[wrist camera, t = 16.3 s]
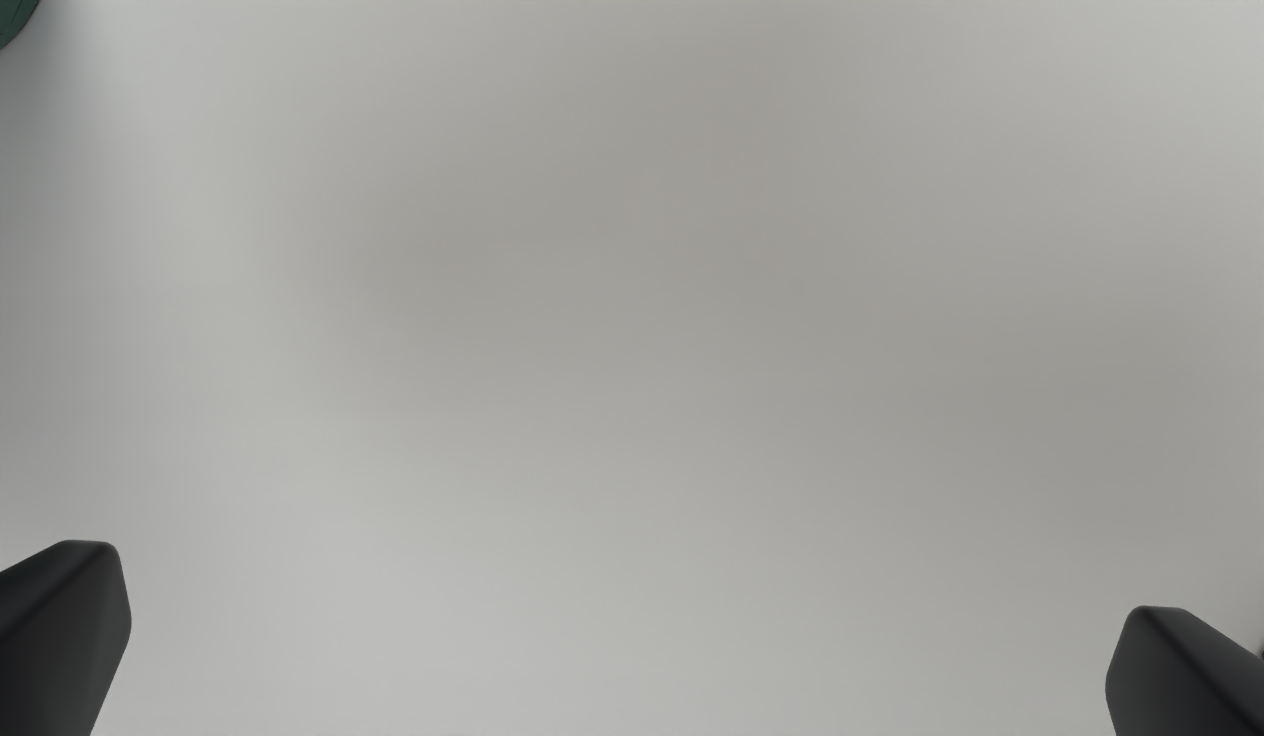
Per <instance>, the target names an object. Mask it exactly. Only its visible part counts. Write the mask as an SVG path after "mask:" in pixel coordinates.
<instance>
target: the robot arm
mask: <svg viewBox="0 0 1264 736" xmlns="http://www.w3.org/2000/svg"><path fill="white" fill-rule="evenodd" d="M130 632H131V611H130V606H129V601H128V596H127V591H126V586H125V581H124V576H123V571H122V566H121V561H120V557H119V554H118V551H117V550H116V548H115V547H114V546H113V545H111V544H110V543H108V542H101V541H85V540H64V541H61V542H58V543H56V544H54V545H52V546H50V547H48V548H46V549H44V550H42V551H40V552H39V553H37V554H35V555H33V556H31V557H29V558H27V559H25V560H23V561H21V562H19V563H17V564H15V565H13V566H11V567H9V568H7V569H5V570H3V571H1V572H0V736H90V734H91V731H92V729H93V727H94V724H95V722H96V719H97V717H98V714H99V712H100V709H101V707H102V705H103V702H104V700H105V697H106V695H107V692H108V690H109V687H110V685H111V683H112V680H113V678H114V675H115V673H116V670H117V668H118V666H119V663H120V661H121V658H122V656H123V653H124V651H125V648H126V646H127V643H128V640H129V636H130ZM1105 692H1106V700H1107V704H1108V708H1109V711H1110V715H1111V718H1112V722H1113V725H1114V729H1115V732H1116V736H1264V651H1263V653H1262V660H1261V659H1260V658H1258V657H1257V656H1255V655H1254V654H1252V653H1251V652H1249V651H1247V650H1246V649H1244V648H1243V647H1241V646H1240V645H1238V644H1237V643H1235V642H1234V641H1232V640H1231V639H1229V638H1228V637H1226V636H1225V635H1223V634H1222V633H1220V632H1219V631H1217V630H1216V629H1214V628H1213V627H1211V626H1210V625H1208V624H1207V623H1205V622H1204V621H1202V620H1201V619H1199V618H1197V617H1196V616H1194V615H1193V614H1191V613H1190V612H1188V611H1186V610H1184V609H1181V608H1174V607H1158V606H1139V607H1136V608H1135V609H1133V610H1132V611H1131V612H1130V613H1129V615H1128V617H1127V619H1126V621H1125V624H1124V627H1123V630H1122V632H1121V635H1120V638H1119V641H1118V644H1117V647H1116V649H1115V652H1114V655H1113V658H1112V661H1111V663H1110V666H1109V669H1108V672H1107V676H1106V683H1105Z"/></svg>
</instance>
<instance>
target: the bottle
mask: <svg viewBox="0 0 1264 736" xmlns="http://www.w3.org/2000/svg"><path fill="white" fill-rule="evenodd" d="M36 3H37V0H0V49H1V48H2V47H3V46H4V45H6V44H7V43H8V42H9V41H10V40H11V39H12V38H13V37H14V36H15V35H16V34H17V33H18V31H19V30H20V29H21V27H22V26H23V25H24V24H25V22H26V21H27V19H28V18H29V16H30V14H31V12H32V10H33V9H34V7H35V5H36Z"/></svg>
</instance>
